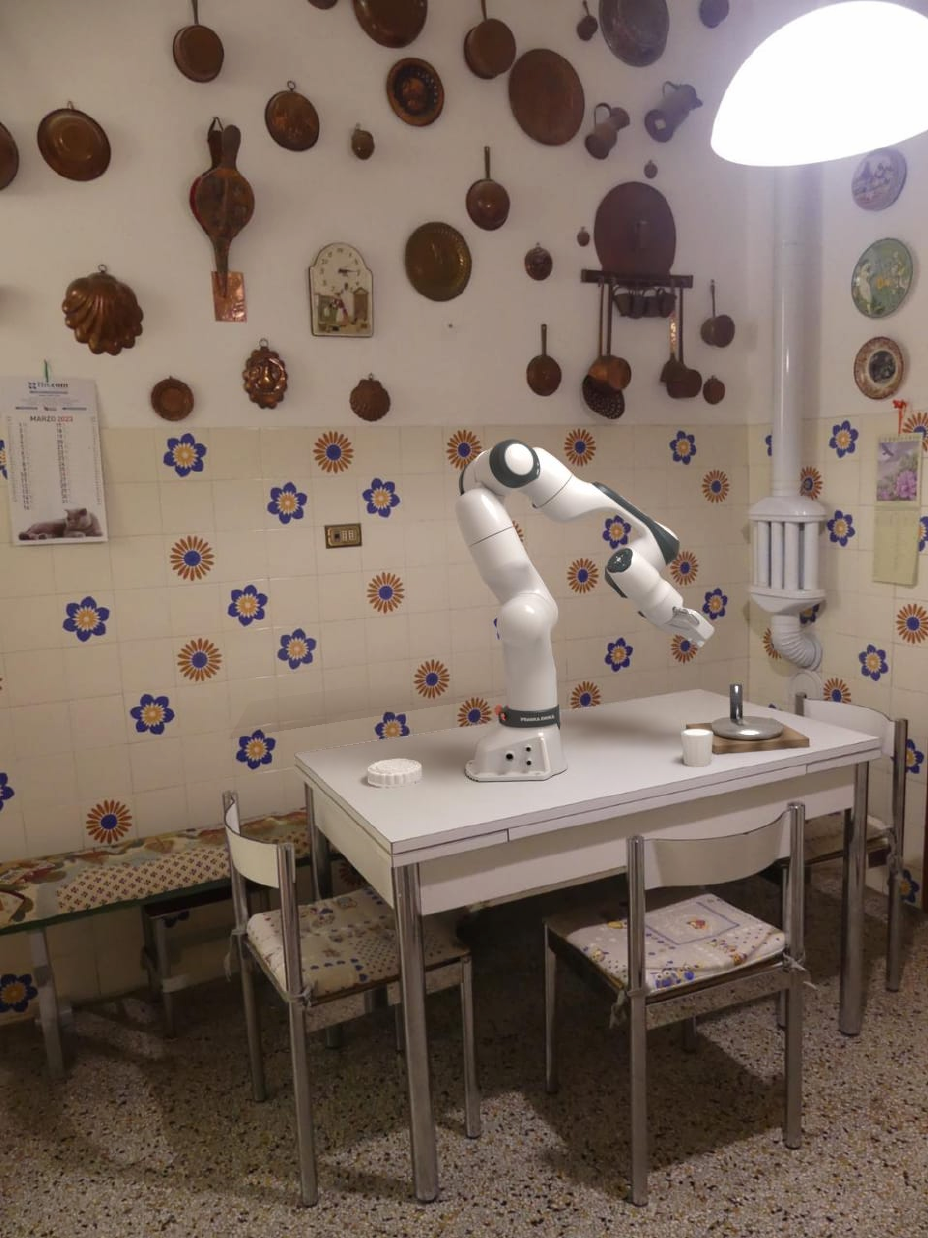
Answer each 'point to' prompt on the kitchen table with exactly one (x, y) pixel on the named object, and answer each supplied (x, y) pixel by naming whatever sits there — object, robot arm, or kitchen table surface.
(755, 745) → the dial board
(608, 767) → the kitchen table surface
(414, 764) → the mooncake
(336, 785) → the kitchen table surface
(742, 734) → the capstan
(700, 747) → the white fluted cup
